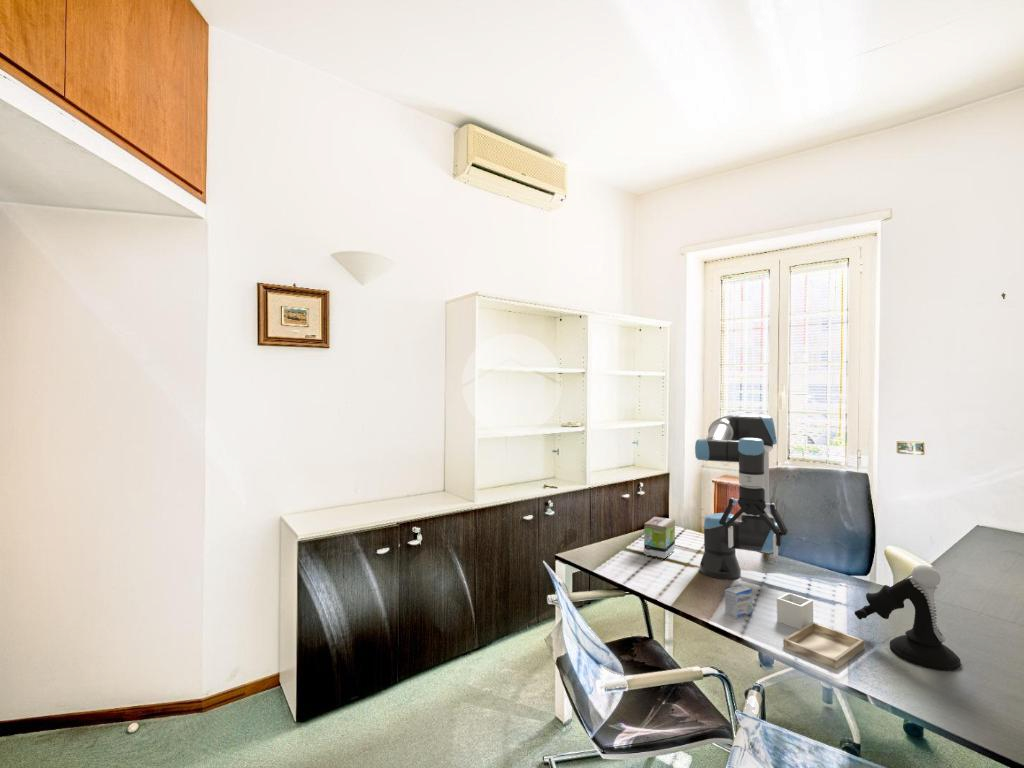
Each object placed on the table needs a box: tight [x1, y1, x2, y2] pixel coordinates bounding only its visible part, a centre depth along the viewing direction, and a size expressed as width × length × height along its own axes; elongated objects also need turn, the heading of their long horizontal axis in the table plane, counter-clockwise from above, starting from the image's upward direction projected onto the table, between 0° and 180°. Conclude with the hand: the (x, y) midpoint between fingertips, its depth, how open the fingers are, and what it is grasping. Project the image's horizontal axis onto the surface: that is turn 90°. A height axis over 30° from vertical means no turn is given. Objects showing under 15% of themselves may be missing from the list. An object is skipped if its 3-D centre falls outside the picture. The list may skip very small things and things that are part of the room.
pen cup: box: [776, 592, 814, 630], centre depth 154 cm, size 7×7×8 cm
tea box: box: [643, 516, 676, 559], centre depth 221 cm, size 15×10×15 cm
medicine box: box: [724, 584, 753, 619], centre depth 161 cm, size 8×4×9 cm, turn 117°
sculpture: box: [854, 564, 962, 672], centre depth 139 cm, size 15×24×25 cm, turn 41°
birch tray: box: [783, 621, 865, 670], centre depth 139 cm, size 14×18×3 cm
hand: (752, 551), depth 160 cm, fingers open, 13 cm apart
